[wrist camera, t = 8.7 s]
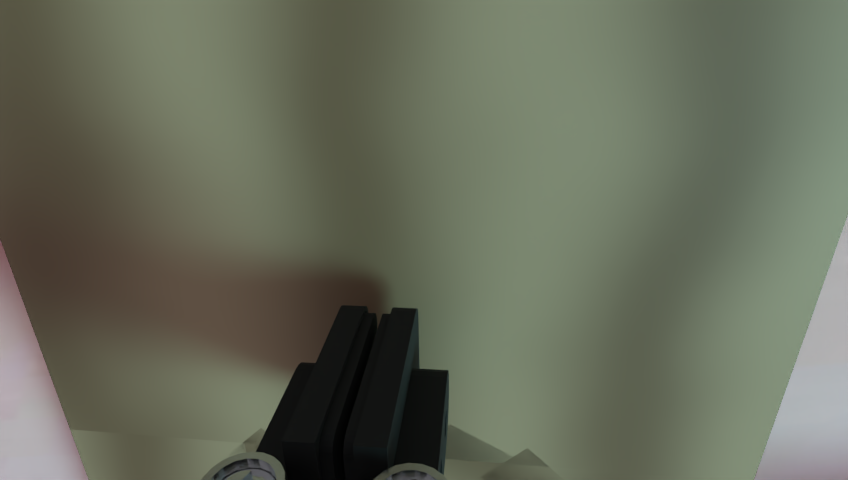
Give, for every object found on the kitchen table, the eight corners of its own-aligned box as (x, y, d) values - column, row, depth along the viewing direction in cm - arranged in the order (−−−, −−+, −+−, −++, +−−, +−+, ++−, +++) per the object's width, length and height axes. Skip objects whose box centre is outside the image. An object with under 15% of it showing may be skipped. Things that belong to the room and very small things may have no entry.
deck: (891, -192, 10) (1009, -241, 8) (654, 622, 20) (674, 702, 18) (-35, -166, 12) (-161, -200, 9) (183, 574, 22) (148, 642, 20)
